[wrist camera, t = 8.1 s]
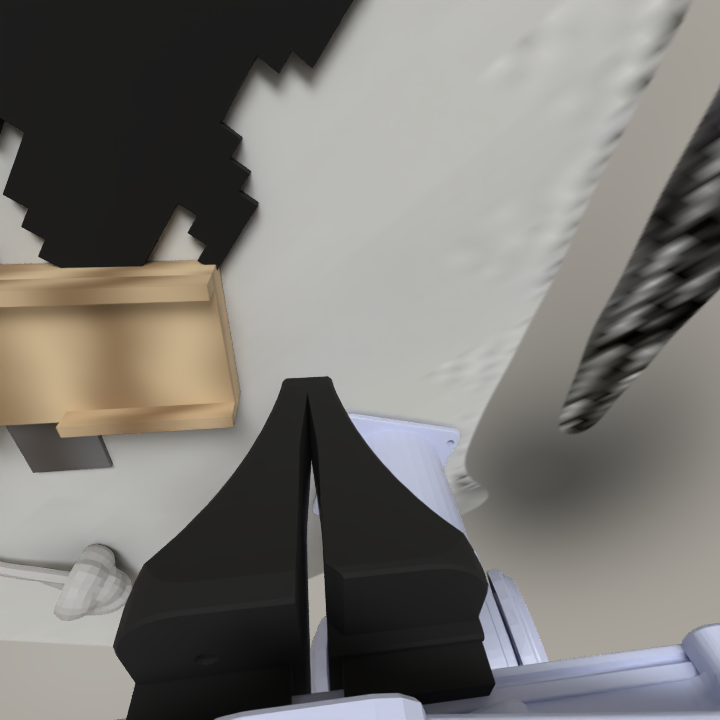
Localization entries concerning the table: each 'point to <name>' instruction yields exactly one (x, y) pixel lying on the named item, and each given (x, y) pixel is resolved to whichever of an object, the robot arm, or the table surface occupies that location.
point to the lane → (111, 357)
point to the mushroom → (81, 583)
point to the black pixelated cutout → (138, 116)
